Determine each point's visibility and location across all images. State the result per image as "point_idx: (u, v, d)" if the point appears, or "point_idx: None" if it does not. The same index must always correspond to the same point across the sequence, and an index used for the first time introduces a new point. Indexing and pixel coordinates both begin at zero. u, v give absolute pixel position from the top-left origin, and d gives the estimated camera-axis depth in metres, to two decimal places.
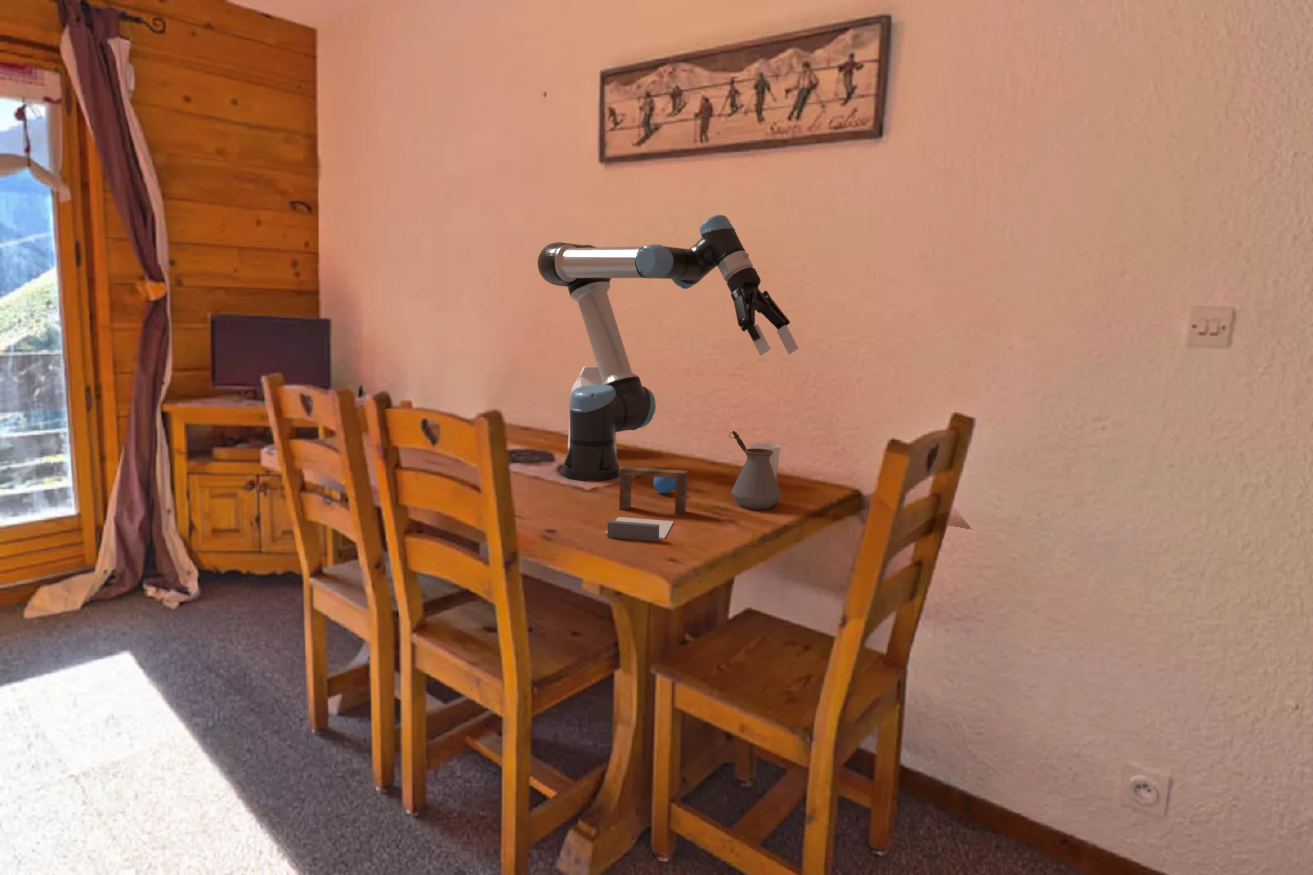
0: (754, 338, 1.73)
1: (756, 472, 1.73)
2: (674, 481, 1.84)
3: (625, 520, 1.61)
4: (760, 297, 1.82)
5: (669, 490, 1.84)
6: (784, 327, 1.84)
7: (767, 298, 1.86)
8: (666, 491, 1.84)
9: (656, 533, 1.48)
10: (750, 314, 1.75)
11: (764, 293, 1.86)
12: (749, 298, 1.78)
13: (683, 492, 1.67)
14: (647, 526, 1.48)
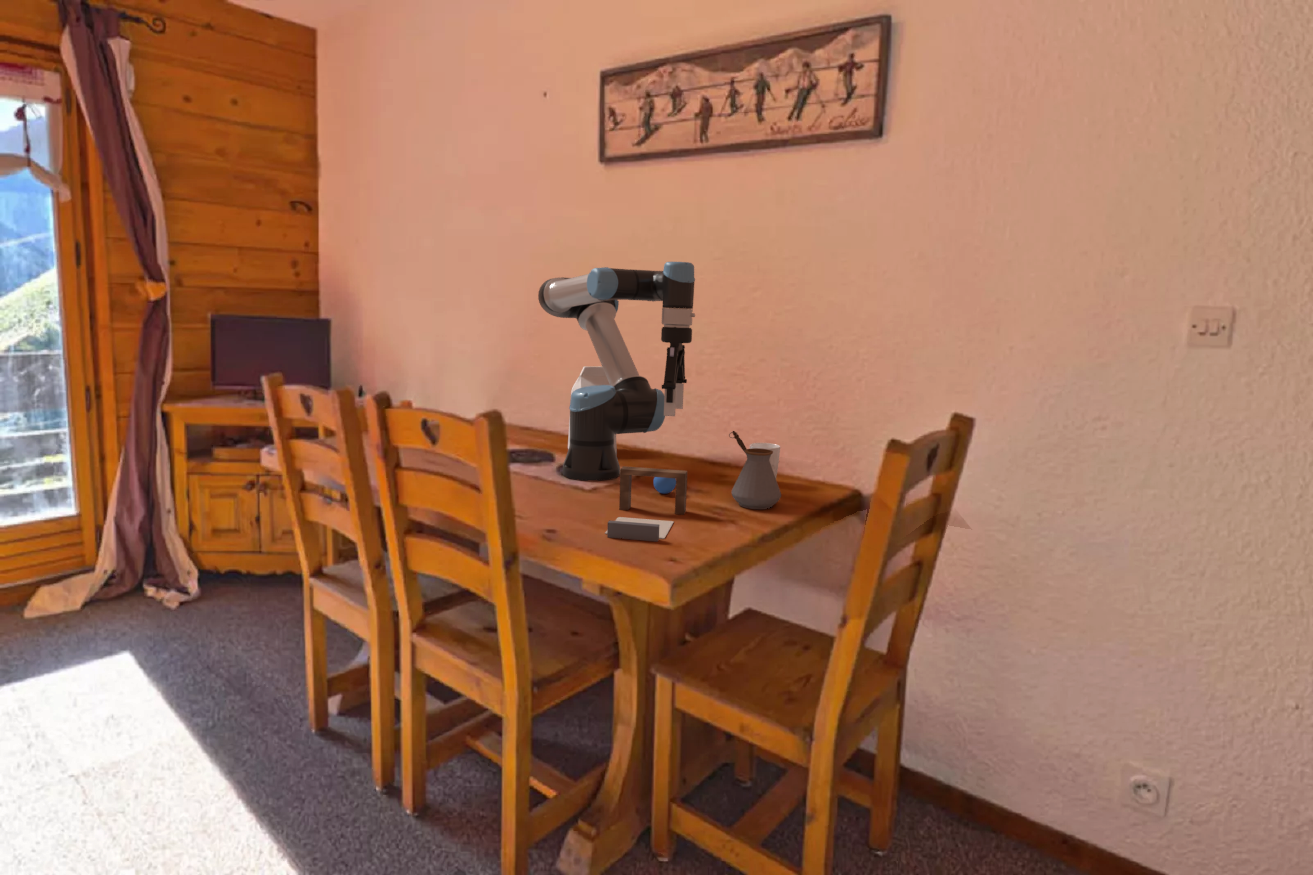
0: (668, 401, 1.83)
1: (756, 472, 1.73)
2: (674, 481, 1.84)
3: (625, 520, 1.61)
4: None
5: (669, 490, 1.84)
6: (681, 385, 1.97)
7: None
8: (666, 491, 1.84)
9: (656, 533, 1.48)
10: (674, 377, 1.83)
11: (682, 347, 1.94)
12: (677, 357, 1.86)
13: (683, 492, 1.67)
14: (647, 526, 1.48)
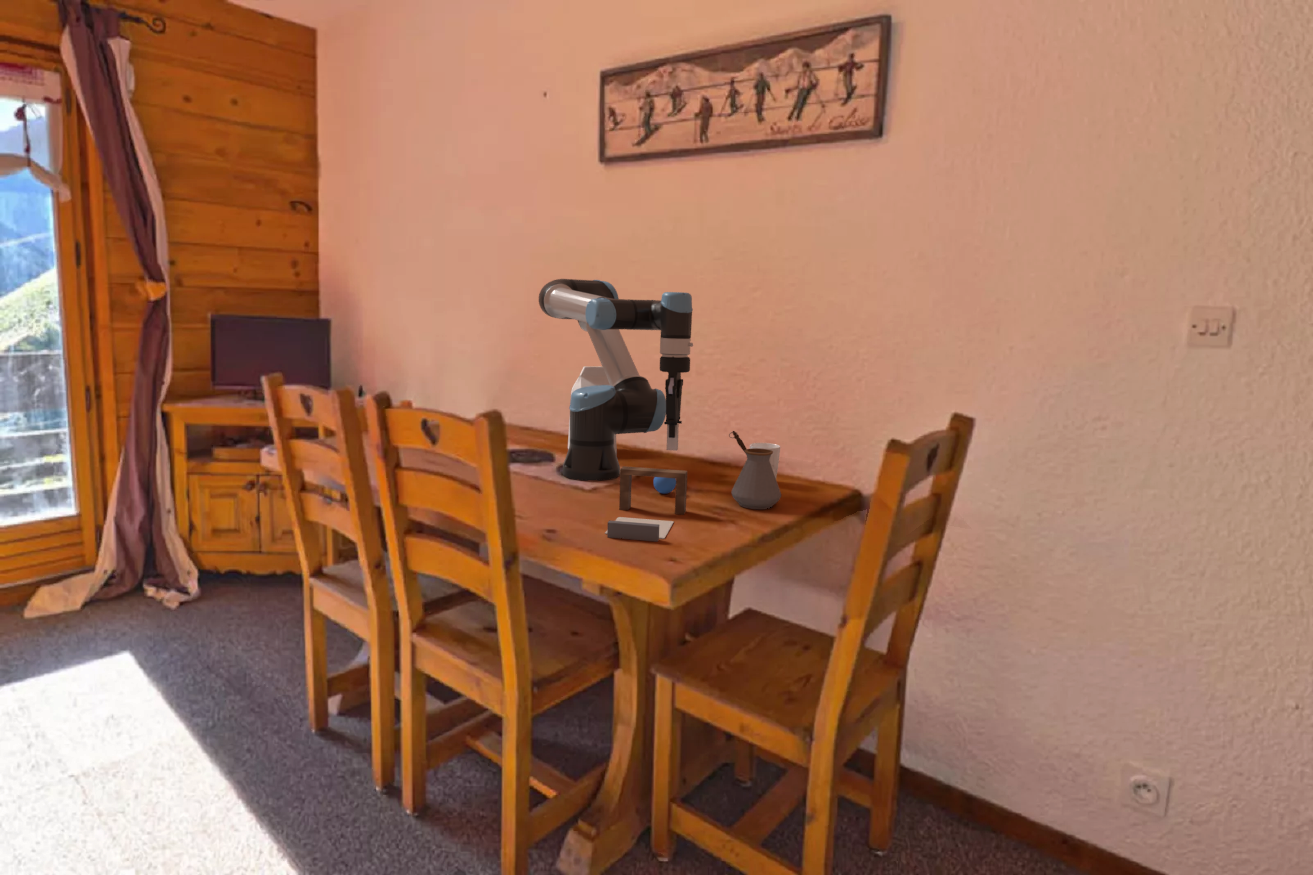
0: (671, 436, 1.91)
1: (756, 472, 1.73)
2: (674, 481, 1.84)
3: (625, 520, 1.61)
4: None
5: (669, 490, 1.84)
6: None
7: None
8: (666, 491, 1.84)
9: (656, 533, 1.48)
10: None
11: None
12: (676, 390, 1.88)
13: (683, 492, 1.67)
14: (647, 526, 1.48)
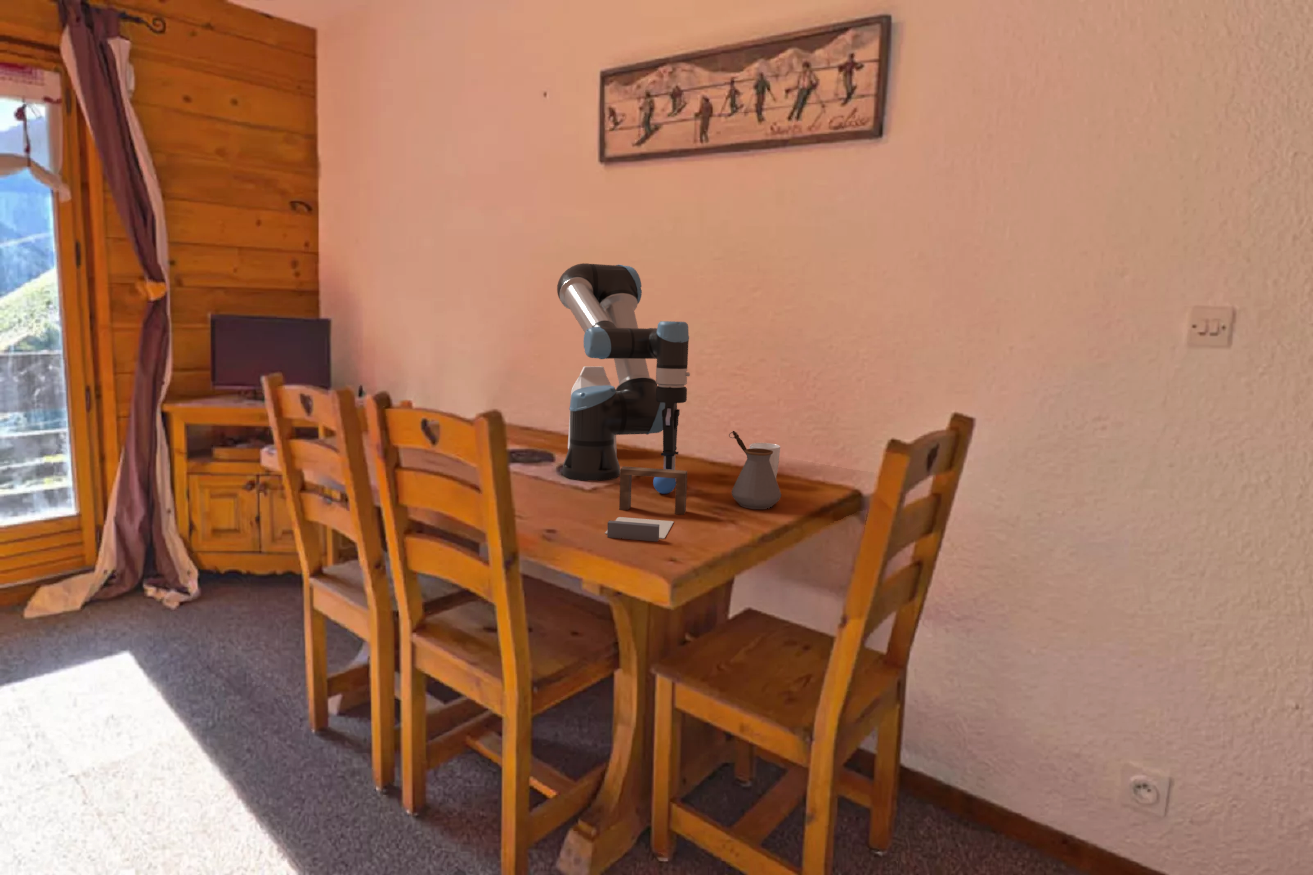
0: (667, 468, 1.86)
1: (756, 472, 1.73)
2: (674, 481, 1.84)
3: (625, 520, 1.61)
4: None
5: (669, 490, 1.84)
6: None
7: None
8: (666, 491, 1.84)
9: (656, 533, 1.48)
10: None
11: None
12: (673, 421, 1.84)
13: (683, 492, 1.67)
14: (647, 526, 1.48)
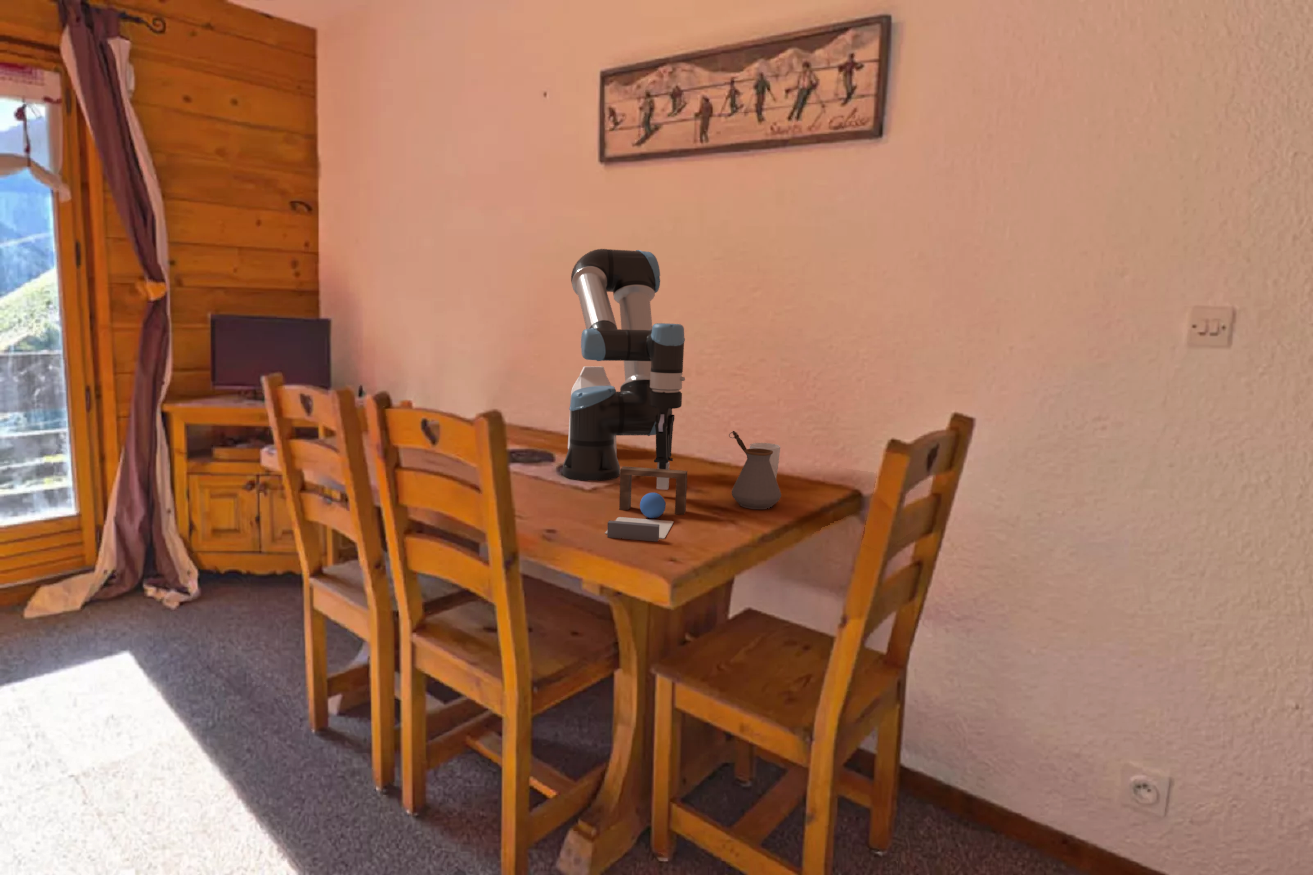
0: None
1: (756, 472, 1.73)
2: (663, 511, 1.63)
3: (625, 520, 1.61)
4: None
5: None
6: None
7: None
8: None
9: (656, 533, 1.48)
10: (666, 451, 1.79)
11: None
12: (666, 427, 1.78)
13: (683, 492, 1.67)
14: (647, 526, 1.48)
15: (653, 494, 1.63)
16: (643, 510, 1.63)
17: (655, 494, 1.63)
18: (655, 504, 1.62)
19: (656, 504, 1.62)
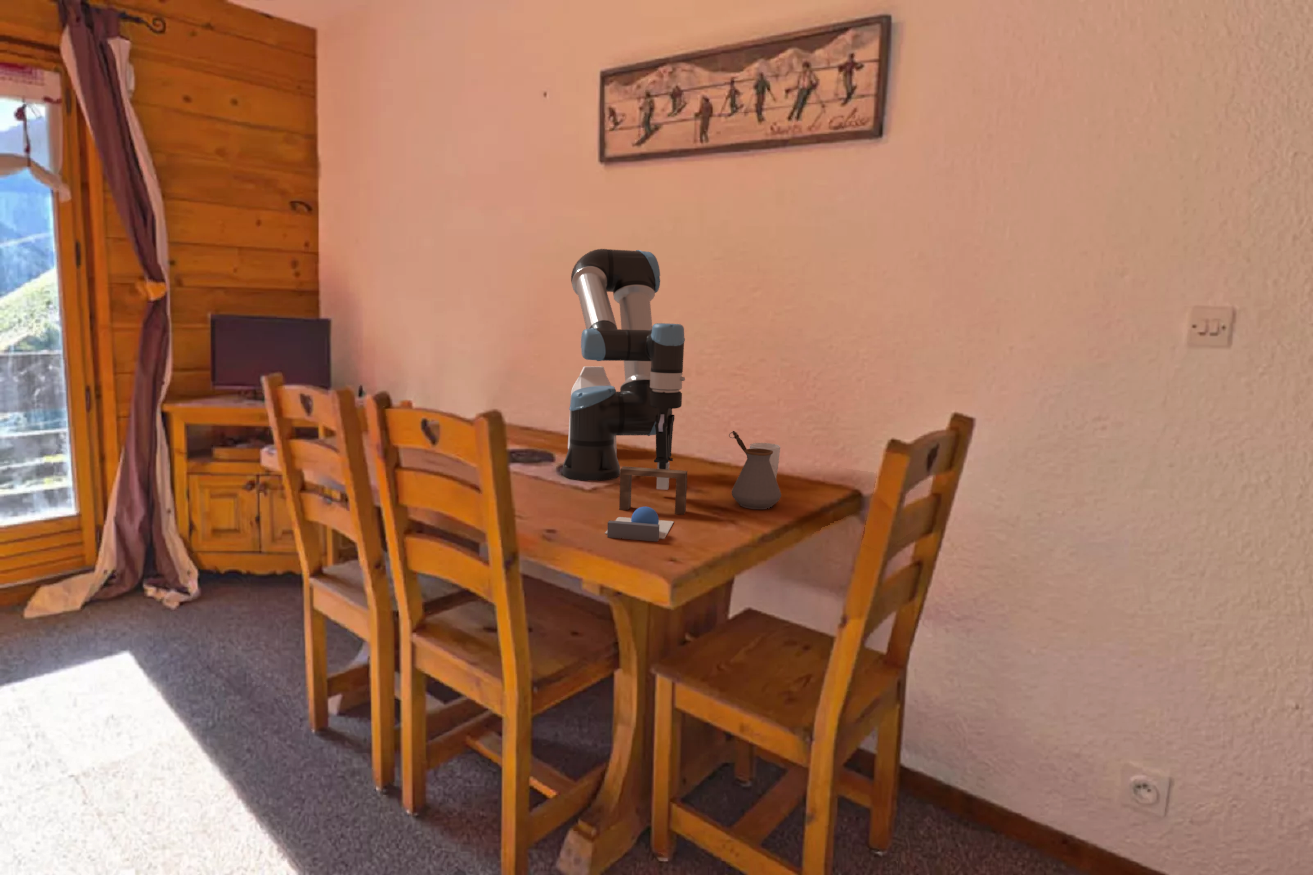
0: None
1: (756, 472, 1.73)
2: (657, 517, 1.52)
3: (625, 520, 1.61)
4: None
5: None
6: None
7: None
8: None
9: (656, 533, 1.48)
10: (666, 451, 1.79)
11: None
12: (666, 427, 1.78)
13: (683, 492, 1.67)
14: (647, 526, 1.48)
15: None
16: (636, 509, 1.53)
17: None
18: None
19: None
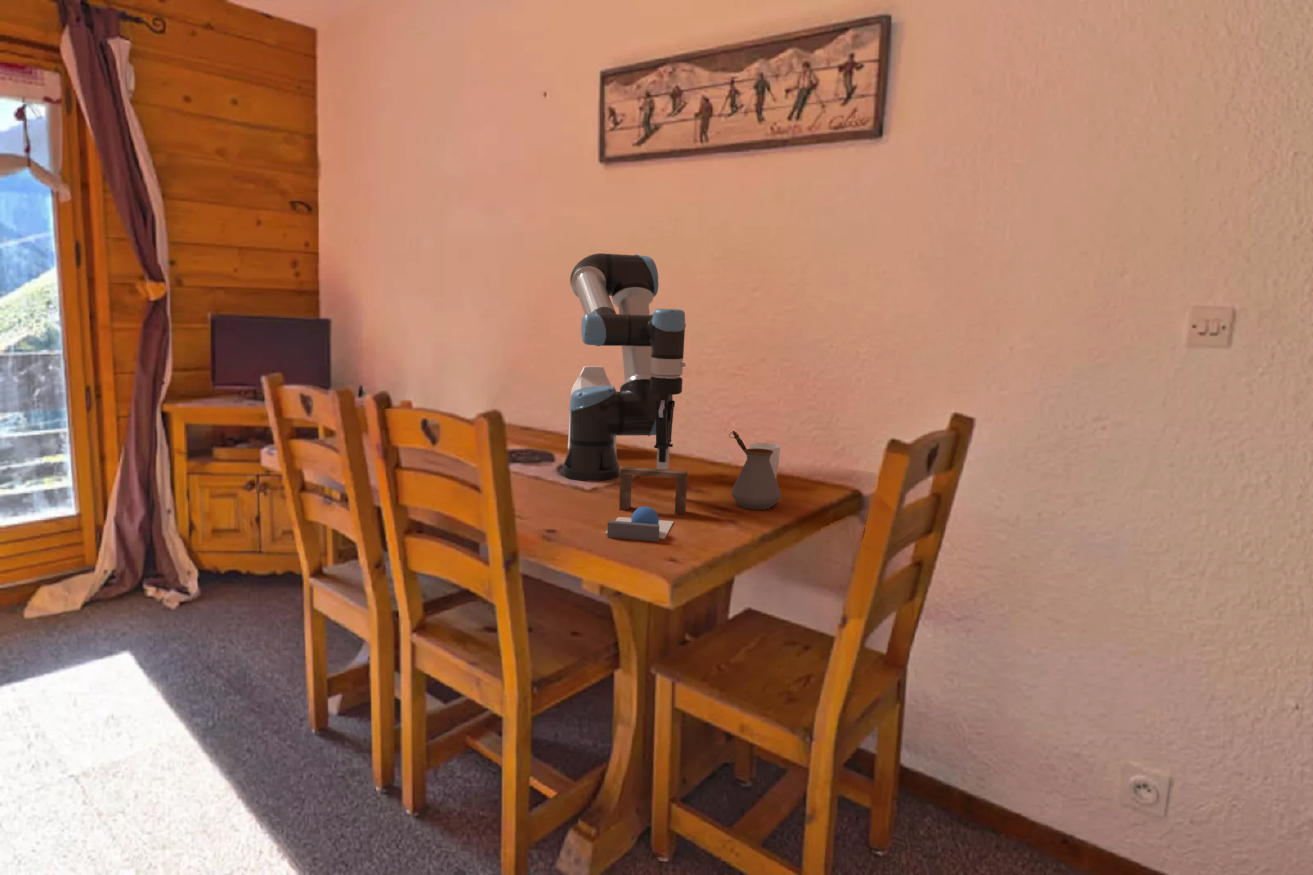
0: (661, 461, 1.81)
1: (756, 472, 1.73)
2: (657, 517, 1.52)
3: (625, 520, 1.61)
4: None
5: None
6: None
7: None
8: None
9: (656, 533, 1.48)
10: (666, 437, 1.79)
11: None
12: (667, 413, 1.78)
13: (683, 492, 1.67)
14: (647, 526, 1.48)
15: None
16: (637, 509, 1.53)
17: None
18: None
19: None
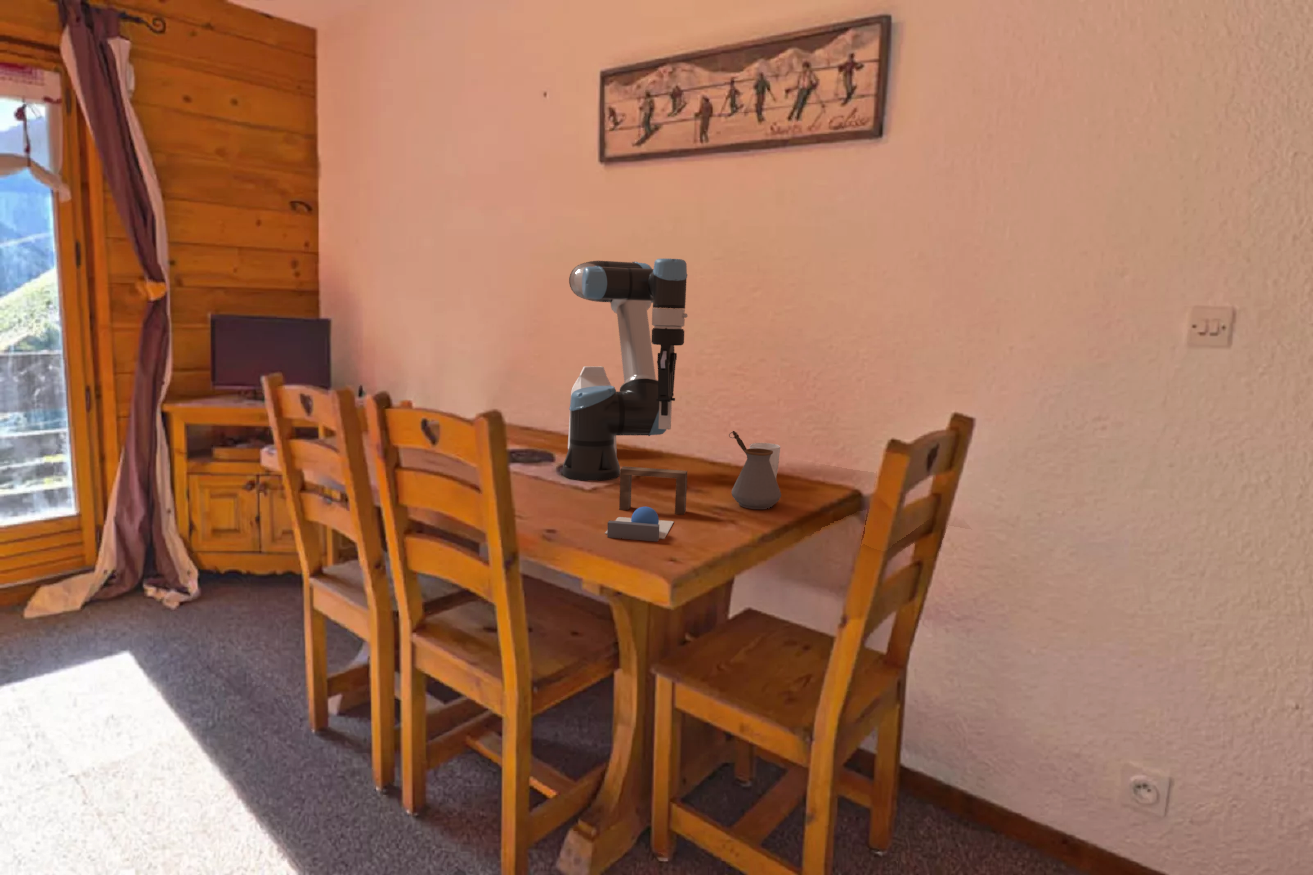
0: (663, 414, 1.78)
1: (756, 472, 1.73)
2: (657, 517, 1.52)
3: (625, 520, 1.61)
4: None
5: None
6: None
7: None
8: None
9: (656, 533, 1.48)
10: (668, 389, 1.77)
11: None
12: (669, 364, 1.76)
13: (683, 492, 1.67)
14: (647, 526, 1.48)
15: None
16: (637, 509, 1.53)
17: None
18: None
19: None
